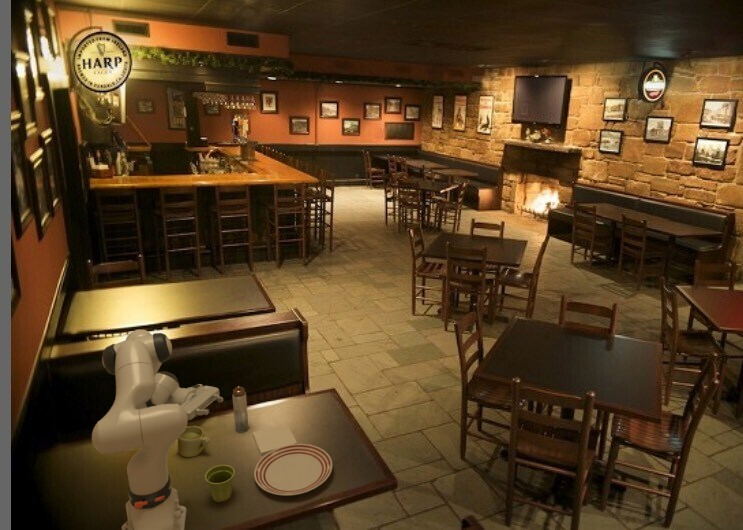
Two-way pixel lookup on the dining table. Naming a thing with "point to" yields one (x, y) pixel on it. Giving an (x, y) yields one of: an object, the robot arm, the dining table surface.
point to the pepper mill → (240, 409)
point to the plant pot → (220, 482)
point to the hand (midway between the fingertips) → (215, 406)
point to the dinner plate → (293, 469)
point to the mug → (192, 441)
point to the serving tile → (273, 438)
